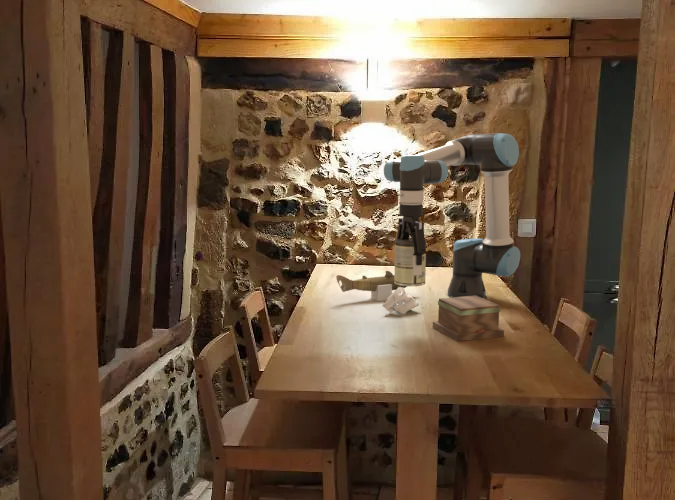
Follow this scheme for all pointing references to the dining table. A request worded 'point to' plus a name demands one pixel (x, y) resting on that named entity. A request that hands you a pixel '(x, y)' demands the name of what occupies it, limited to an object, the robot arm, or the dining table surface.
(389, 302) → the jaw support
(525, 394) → the dining table surface
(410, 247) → the coffee can
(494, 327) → the stand
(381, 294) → the wood carving
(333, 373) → the dining table surface
